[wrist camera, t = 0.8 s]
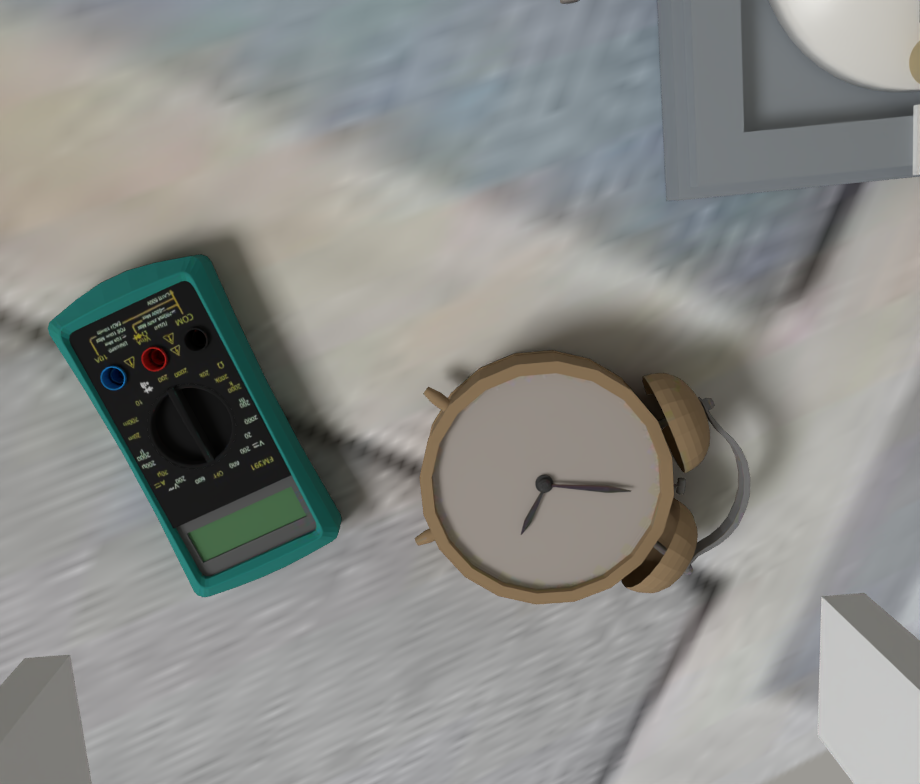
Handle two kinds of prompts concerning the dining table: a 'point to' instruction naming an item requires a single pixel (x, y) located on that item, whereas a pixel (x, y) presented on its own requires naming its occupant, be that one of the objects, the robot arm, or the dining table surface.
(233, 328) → the digital multimeter
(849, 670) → the robot arm
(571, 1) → the screwdriver
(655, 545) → the alarm clock
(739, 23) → the panel
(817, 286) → the dining table surface
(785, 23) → the dial
